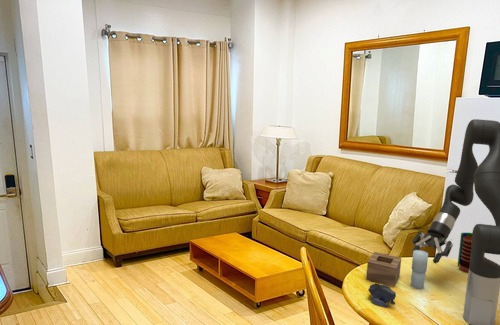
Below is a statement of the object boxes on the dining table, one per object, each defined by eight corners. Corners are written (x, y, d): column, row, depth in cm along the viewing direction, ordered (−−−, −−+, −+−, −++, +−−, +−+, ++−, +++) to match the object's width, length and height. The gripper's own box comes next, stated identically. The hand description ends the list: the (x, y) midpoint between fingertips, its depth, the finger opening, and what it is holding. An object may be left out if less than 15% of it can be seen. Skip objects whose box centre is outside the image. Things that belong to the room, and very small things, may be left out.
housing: (394, 287, 151) (396, 268, 149) (366, 280, 156) (367, 261, 155) (399, 275, 161) (401, 257, 160) (372, 269, 166) (374, 251, 165)
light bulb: (423, 290, 149) (427, 256, 146) (408, 287, 151) (412, 253, 149) (425, 285, 153) (429, 252, 151) (410, 281, 156) (414, 249, 154)
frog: (377, 291, 147) (378, 274, 146) (402, 304, 138) (404, 286, 137) (361, 297, 142) (362, 280, 141) (386, 311, 133) (388, 292, 132)
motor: (452, 267, 172) (457, 224, 168) (465, 264, 175) (471, 222, 172) (473, 276, 163) (479, 231, 159) (487, 273, 166) (493, 229, 163)
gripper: (422, 216, 161) (404, 247, 156) (457, 225, 150) (438, 260, 145) (428, 226, 165) (410, 257, 160) (462, 236, 154) (444, 270, 149)
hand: (423, 258), depth 153 cm, fingers open, 8 cm apart
